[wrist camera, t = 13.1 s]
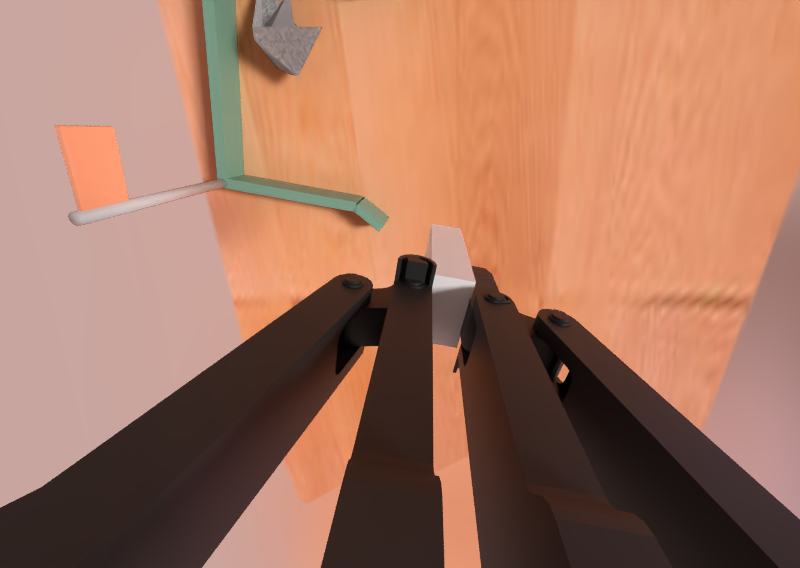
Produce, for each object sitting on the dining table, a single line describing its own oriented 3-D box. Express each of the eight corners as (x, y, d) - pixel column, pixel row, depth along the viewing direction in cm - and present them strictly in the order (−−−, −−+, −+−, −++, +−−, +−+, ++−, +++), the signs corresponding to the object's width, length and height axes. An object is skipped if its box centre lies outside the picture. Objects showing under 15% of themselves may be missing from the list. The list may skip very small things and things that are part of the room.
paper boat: (222, 36, 35) (226, -80, 29) (276, 49, 40) (289, -50, 34) (279, 92, 31) (297, -28, 26) (332, 100, 36) (358, -1, 30)
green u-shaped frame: (426, -42, 32) (417, -325, 12) (387, 224, 44) (350, 301, 24) (219, -78, 32) (-121, -412, 12) (236, 196, 44) (77, 250, 24)
